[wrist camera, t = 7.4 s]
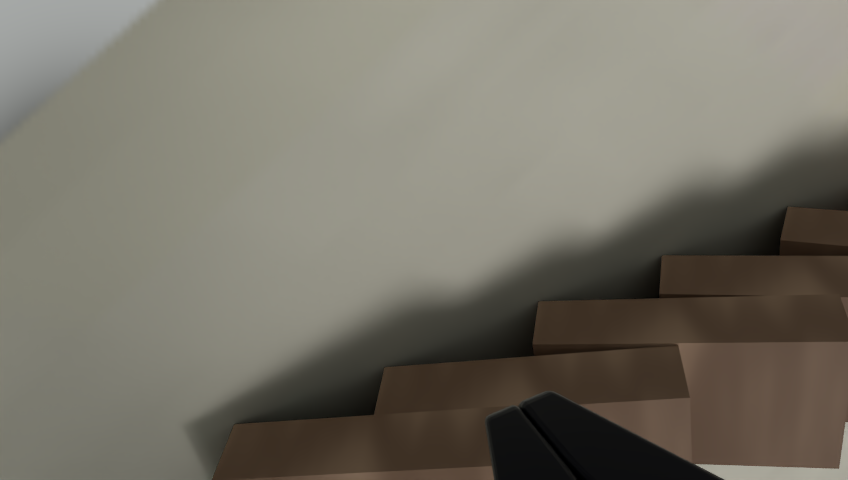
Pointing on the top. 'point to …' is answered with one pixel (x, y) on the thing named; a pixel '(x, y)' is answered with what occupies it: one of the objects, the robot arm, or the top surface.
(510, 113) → the top surface
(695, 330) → the domino
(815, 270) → the domino
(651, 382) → the domino
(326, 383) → the top surface
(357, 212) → the top surface
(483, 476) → the domino
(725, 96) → the top surface
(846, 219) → the domino
